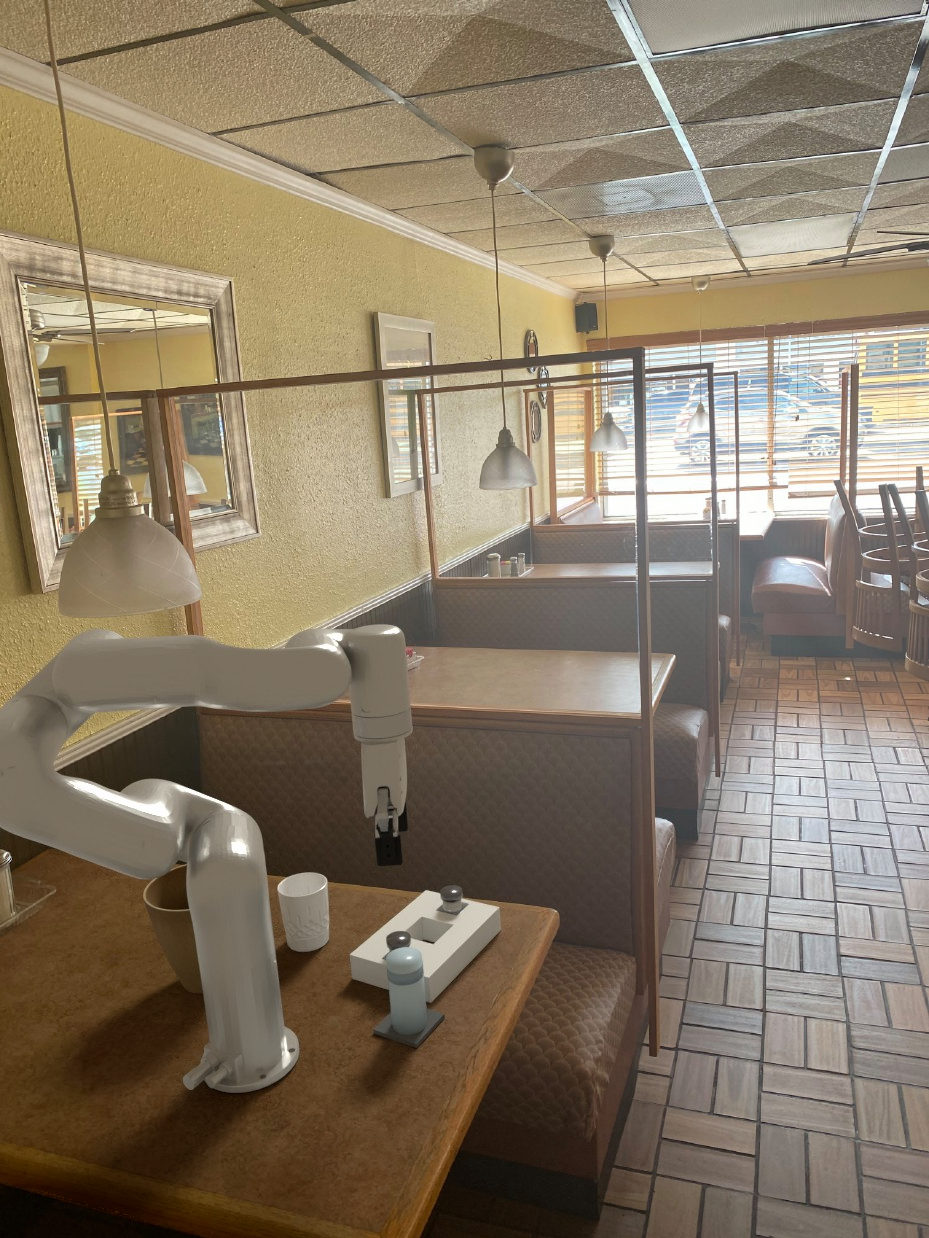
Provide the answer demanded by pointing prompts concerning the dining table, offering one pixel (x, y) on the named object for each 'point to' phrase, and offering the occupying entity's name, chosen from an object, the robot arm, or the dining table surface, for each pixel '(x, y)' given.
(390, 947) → the grey dome-capped cylinder
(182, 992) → the dining table surface
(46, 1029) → the dining table surface
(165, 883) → the plant pot
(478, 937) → the housing
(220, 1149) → the dining table surface
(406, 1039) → the mat
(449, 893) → the dark capped shaker
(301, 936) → the white cup
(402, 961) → the cylinder
